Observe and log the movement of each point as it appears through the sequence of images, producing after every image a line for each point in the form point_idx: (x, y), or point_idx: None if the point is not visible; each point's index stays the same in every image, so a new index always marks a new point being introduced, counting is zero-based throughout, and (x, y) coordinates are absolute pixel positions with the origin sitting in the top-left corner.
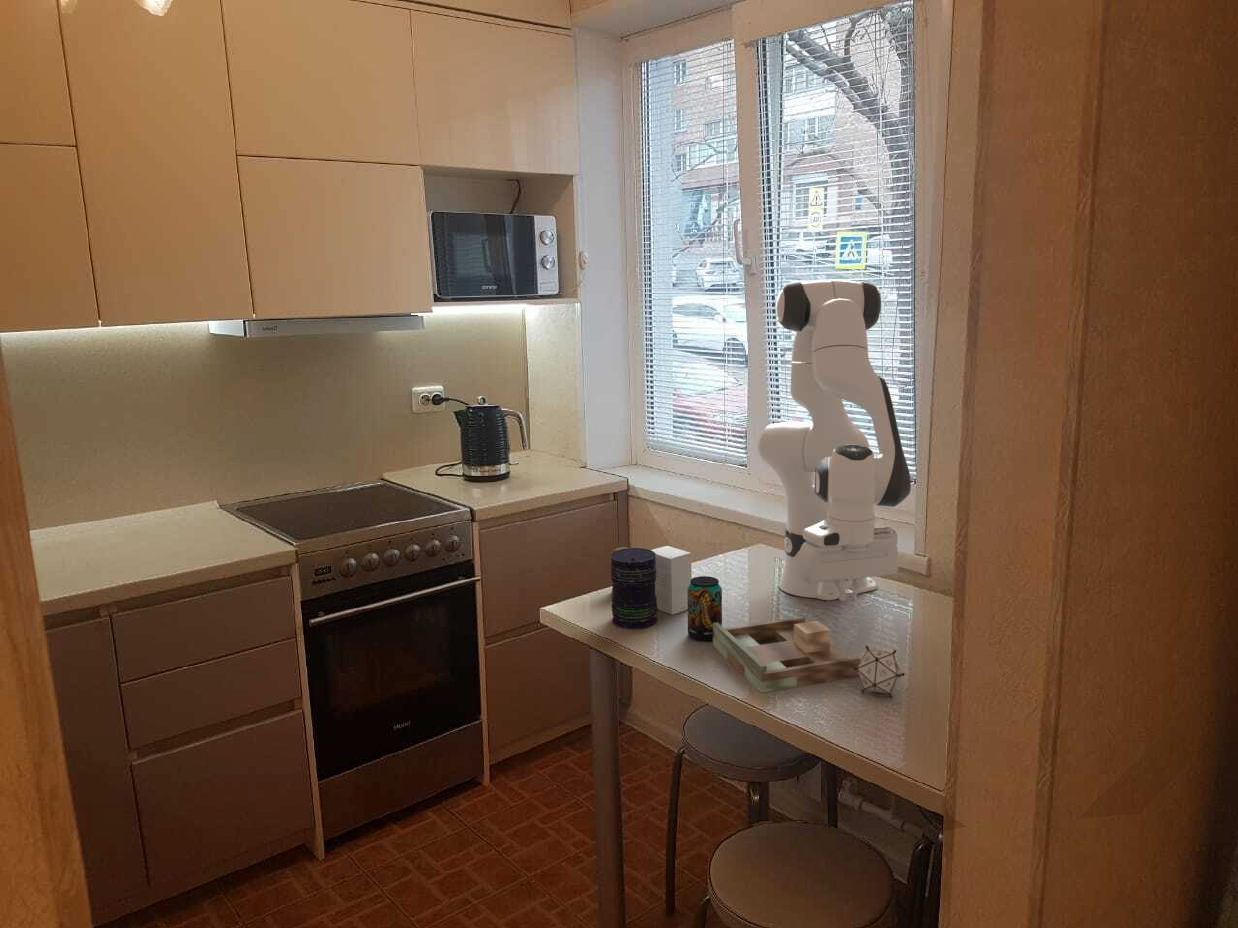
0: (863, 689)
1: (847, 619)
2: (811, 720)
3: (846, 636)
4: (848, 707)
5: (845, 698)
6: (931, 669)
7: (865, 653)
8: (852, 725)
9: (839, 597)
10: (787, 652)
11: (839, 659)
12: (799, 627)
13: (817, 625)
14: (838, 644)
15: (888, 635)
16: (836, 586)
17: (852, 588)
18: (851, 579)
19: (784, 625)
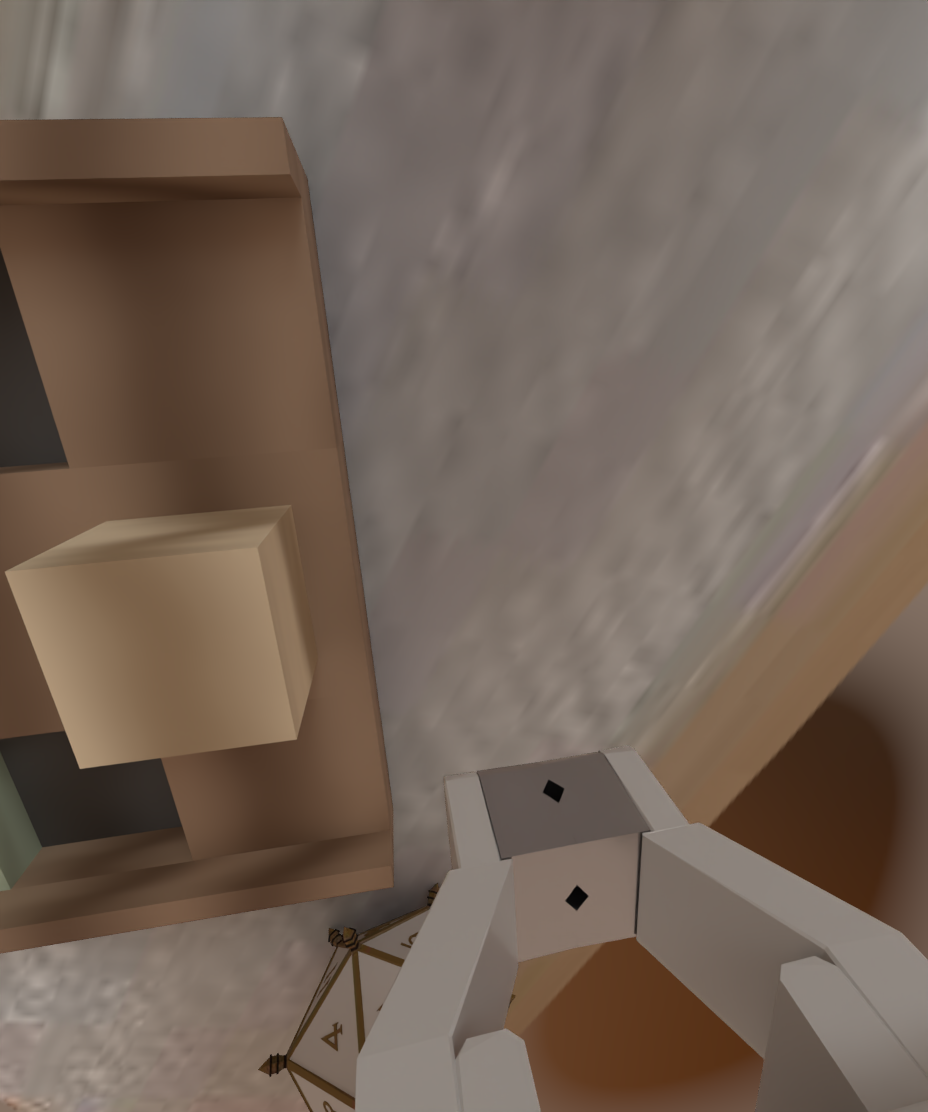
0: (335, 944)
1: (742, 38)
2: (57, 1068)
3: (567, 356)
4: (233, 1006)
5: (248, 954)
6: (703, 797)
7: (346, 1099)
8: (201, 1092)
9: (446, 801)
10: (25, 647)
11: (276, 887)
12: (43, 653)
13: (225, 643)
14: (462, 459)
15: (791, 418)
16: (410, 964)
17: (670, 908)
18: (787, 1019)
19: (81, 194)
